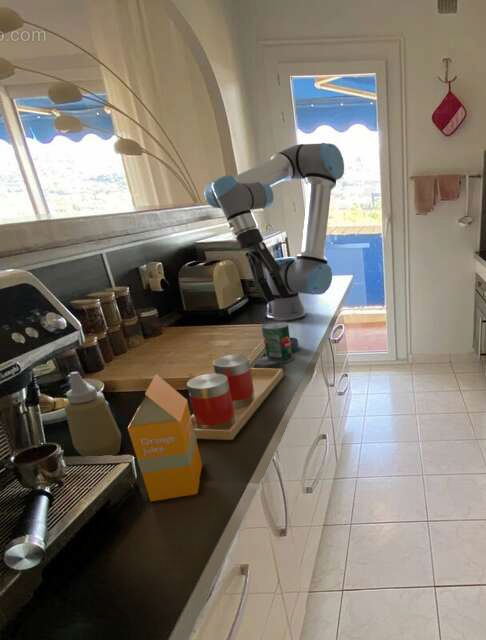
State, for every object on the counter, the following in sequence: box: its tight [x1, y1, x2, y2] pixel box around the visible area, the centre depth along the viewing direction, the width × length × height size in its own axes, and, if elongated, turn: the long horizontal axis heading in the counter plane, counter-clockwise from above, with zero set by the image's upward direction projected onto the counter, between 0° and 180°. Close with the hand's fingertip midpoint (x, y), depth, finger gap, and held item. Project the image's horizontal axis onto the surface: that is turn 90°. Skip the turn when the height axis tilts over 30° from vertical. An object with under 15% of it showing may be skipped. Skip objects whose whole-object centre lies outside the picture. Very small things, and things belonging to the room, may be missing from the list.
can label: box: [212, 354, 255, 409], centre depth 108 cm, size 8×8×11 cm
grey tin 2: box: [290, 336, 300, 353], centre depth 146 cm, size 7×7×3 cm
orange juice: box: [127, 373, 203, 502], centre depth 77 cm, size 8×9×20 cm
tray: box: [190, 367, 285, 441], centre depth 110 cm, size 35×12×2 cm, turn 176°
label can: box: [186, 373, 236, 430], centre depth 97 cm, size 8×8×11 cm
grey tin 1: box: [255, 356, 283, 369], centre depth 130 cm, size 7×7×3 cm
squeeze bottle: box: [64, 371, 122, 457], centre depth 86 cm, size 8×8×18 cm
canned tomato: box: [261, 320, 293, 364], centre depth 137 cm, size 8×8×11 cm
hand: (278, 299), depth 141 cm, fingers open, 13 cm apart
